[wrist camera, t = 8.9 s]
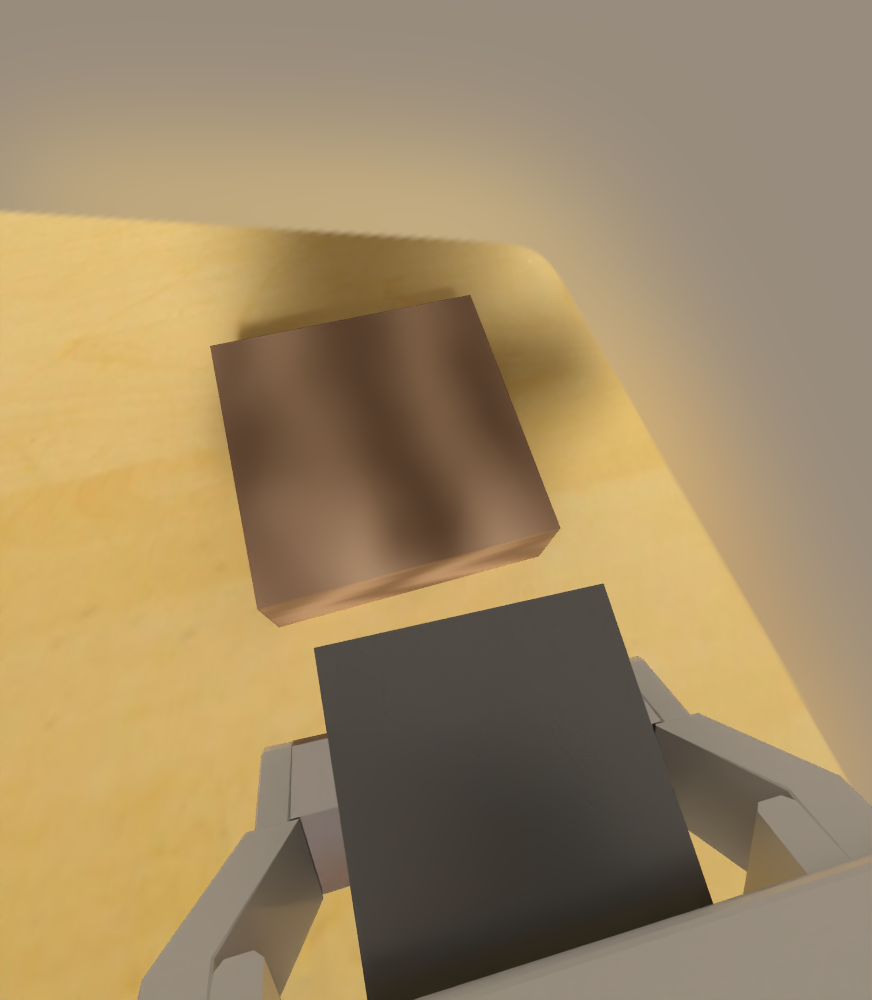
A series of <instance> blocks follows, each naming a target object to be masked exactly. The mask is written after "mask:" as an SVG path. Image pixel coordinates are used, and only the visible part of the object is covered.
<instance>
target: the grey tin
mask: <svg viewBox="0 0 872 1000" xmlns="http://www.w3.org/2000/svg"><path fill="white" fill-rule="evenodd" d="M314 652H315V658H316V665H317V671H318V678H319V684H320V691H321V698H322V704H323V711H324V717H325V724H326V730H327V737H328V744H329V750H330V757H331V763H332V770H333V776H334V783H335V790H336V796H337V803H338V809H339V816H340V823H341V829H342V836H343V842H344V849H345V855H346V862H347V869H348V875H349V882H350V888H351V895H352V901H353V908H354V915H355V921H356V928H357V934H358V941H359V947H360V954H361V961H362V967H363V974H364V980H365V987H366V993H367V1000H414V999H417V998H420V997H423V996H427V995H430V994H433V993H436V992H439V991H442V990H445V989H449V988H452V987H455V986H458V985H461V984H464V983H467V982H470V981H474V980H477V979H480V978H483V977H486V976H489V975H492V974H496V973H499V972H502V971H505V970H508V969H511V968H514V967H517V966H521V965H524V964H527V963H530V962H533V961H536V960H539V959H543V958H546V957H549V956H552V955H555V954H558V953H561V952H564V951H568V950H571V949H574V948H577V947H580V946H583V945H586V944H590V943H593V942H596V941H599V940H602V939H605V938H608V937H611V936H615V935H618V934H621V933H624V932H627V931H630V930H633V929H637V928H640V927H643V926H646V925H649V924H652V923H655V922H658V921H662V920H665V919H668V918H671V917H674V916H677V915H680V914H683V913H687V912H690V911H693V910H696V909H699V908H702V907H705V906H708V905H712V904H713V902H712V899H711V896H710V893H709V890H708V887H707V885H706V882H705V879H704V876H703V873H702V870H701V867H700V864H699V861H698V858H697V855H696V852H695V849H694V847H693V844H692V841H691V838H690V835H689V832H688V829H687V826H686V823H685V820H684V817H683V814H682V812H681V809H680V806H679V803H678V800H677V797H676V794H675V791H674V788H673V785H672V782H671V779H670V777H669V774H668V771H667V768H666V765H665V762H664V759H663V756H662V753H661V750H660V747H659V744H658V741H657V739H656V736H655V733H654V730H653V727H652V724H651V721H650V718H649V715H648V712H647V709H646V706H645V704H644V701H643V698H642V695H641V692H640V689H639V686H638V683H637V680H636V677H635V674H634V671H633V669H632V666H631V663H630V660H629V657H628V654H627V651H626V648H625V645H624V642H623V639H622V636H621V633H620V631H619V628H618V625H617V622H616V619H615V616H614V613H613V610H612V607H611V604H610V601H609V598H608V596H607V593H606V590H605V587H604V584H599V585H594V586H590V587H585V588H581V589H577V590H572V591H568V592H563V593H559V594H554V595H550V596H545V597H541V598H536V599H532V600H527V601H523V602H518V603H514V604H509V605H505V606H500V607H496V608H491V609H487V610H482V611H478V612H473V613H469V614H464V615H460V616H456V617H451V618H447V619H442V620H438V621H433V622H429V623H424V624H420V625H415V626H411V627H406V628H402V629H397V630H393V631H388V632H384V633H379V634H375V635H370V636H366V637H361V638H357V639H352V640H348V641H343V642H339V643H335V644H330V645H326V646H321V647H317V648H314Z"/></svg>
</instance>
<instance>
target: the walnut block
mask: <svg viewBox="0 0 872 1000" xmlns="http://www.w3.org/2000/svg"><path fill="white" fill-rule="evenodd" d="M210 348H211V353H212V359H213V365H214V370H215V376H216V381H217V387H218V392H219V398H220V404H221V409H222V415H223V420H224V426H225V431H226V437H227V442H228V448H229V454H230V459H231V465H232V470H233V476H234V481H235V487H236V493H237V498H238V504H239V509H240V515H241V520H242V526H243V532H244V537H245V543H246V548H247V554H248V559H249V565H250V570H251V576H252V582H253V587H254V593H255V598H256V604H257V609H258V610H259V611H260V612H261V613H262V614H264V615H265V616H266V617H267V618H268V619H270V620H271V621H272V622H273V623H274V624H276V625H277V626H278V627H282V626H285V625H289V624H293V623H296V622H300V621H304V620H307V619H311V618H315V617H318V616H322V615H326V614H329V613H333V612H337V611H340V610H344V609H347V608H351V607H355V606H358V605H362V604H366V603H369V602H373V601H377V600H380V599H384V598H388V597H391V596H395V595H399V594H402V593H406V592H410V591H413V590H417V589H421V588H424V587H428V586H432V585H435V584H439V583H443V582H446V581H450V580H453V579H457V578H461V577H464V576H468V575H472V574H475V573H479V572H483V571H486V570H490V569H494V568H497V567H501V566H505V565H508V564H512V563H516V562H519V561H523V560H527V559H530V558H534V557H538V556H539V555H540V554H541V553H542V551H543V550H544V549H545V547H546V546H547V545H548V543H549V542H550V541H551V540H552V538H553V537H554V536H555V534H556V533H557V532H558V531H559V529H560V526H559V523H558V521H557V518H556V516H555V513H554V510H553V508H552V505H551V503H550V500H549V497H548V495H547V492H546V490H545V487H544V485H543V482H542V479H541V477H540V474H539V472H538V469H537V466H536V464H535V461H534V459H533V456H532V454H531V451H530V448H529V446H528V443H527V441H526V438H525V435H524V433H523V430H522V428H521V425H520V423H519V420H518V417H517V415H516V412H515V410H514V407H513V404H512V402H511V399H510V397H509V394H508V391H507V389H506V386H505V384H504V381H503V379H502V376H501V373H500V371H499V368H498V366H497V363H496V360H495V358H494V355H493V353H492V350H491V348H490V345H489V342H488V340H487V337H486V335H485V332H484V329H483V327H482V324H481V322H480V319H479V317H478V314H477V311H476V309H475V306H474V304H473V301H472V298H471V296H470V295H467V296H462V297H457V298H452V299H447V300H442V301H437V302H432V303H427V304H421V305H416V306H411V307H406V308H401V309H396V310H391V311H386V312H381V313H376V314H371V315H366V316H360V317H355V318H350V319H345V320H340V321H335V322H330V323H325V324H320V325H315V326H310V327H305V328H299V329H294V330H289V331H284V332H279V333H274V334H269V335H264V336H259V337H254V338H249V339H244V340H238V341H233V342H228V343H223V344H218V345H213V346H210Z"/></svg>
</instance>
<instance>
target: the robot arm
mask: <svg viewBox="0 0 872 1000" xmlns="http://www.w3.org/2000/svg"><path fill="white" fill-rule="evenodd" d="M629 660H630V663H631V666H632V669H633V671H634V674H635V677H636V680H637V683H638V686H639V689H640V692H641V695H642V698H643V701H644V704H645V706H646V709H647V712H648V715H649V718H650V721H651V724H652V727H653V730H654V733H655V736H656V739H657V741H658V744H659V747H660V750H661V753H662V756H663V759H664V762H665V765H666V768H667V771H668V774H669V777H670V779H671V782H672V785H673V788H674V791H675V794H676V797H677V800H678V803H679V806H680V809H681V812H682V814H683V817H684V820H685V823H686V826H687V829H688V830H689V831H690V832H692V833H693V834H695V835H696V836H698V837H699V838H700V839H702V840H703V841H705V842H706V843H707V844H709V845H710V846H712V847H713V848H714V849H716V850H717V851H719V852H720V853H721V854H723V855H724V856H726V857H727V858H728V859H730V860H731V861H733V862H734V863H736V864H737V865H738V866H740V867H741V868H743V869H744V870H745V871H747V875H746V881H745V887H744V893H743V895H740V896H737V897H734V898H730V899H727V900H724V901H721V902H718V903H715V904H712V905H708V906H705V907H702V908H699V909H696V910H693V911H690V912H687V913H683V914H680V915H677V916H674V917H671V918H668V919H665V920H662V921H658V922H655V923H652V924H649V925H646V926H643V927H640V928H637V929H633V930H630V931H627V932H624V933H621V934H618V935H615V936H611V937H608V938H605V939H602V940H599V941H596V942H593V943H590V944H586V945H583V946H580V947H577V948H574V949H571V950H568V951H564V952H561V953H558V954H555V955H552V956H549V957H546V958H543V959H539V960H536V961H533V962H530V963H527V964H524V965H521V966H517V967H514V968H511V969H508V970H505V971H502V972H499V973H496V974H492V975H489V976H486V977H483V978H480V979H477V980H474V981H470V982H467V983H464V984H461V985H458V986H455V987H452V988H449V989H445V990H442V991H439V992H436V993H433V994H430V995H427V996H423V997H420V998H417V999H414V1000H872V806H871V805H870V804H869V803H868V802H867V801H866V800H865V799H864V798H863V797H862V796H861V795H860V794H858V793H857V792H856V791H855V790H854V789H853V788H852V787H851V786H850V785H849V784H848V783H847V782H846V781H845V780H844V779H843V778H842V777H841V776H839V775H837V774H835V773H832V772H830V771H828V770H826V769H823V768H821V767H819V766H817V765H814V764H812V763H810V762H808V761H805V760H803V759H801V758H798V757H796V756H794V755H792V754H789V753H787V752H785V751H783V750H780V749H778V748H776V747H774V746H771V745H769V744H767V743H765V742H762V741H760V740H758V739H756V738H753V737H751V736H749V735H747V734H744V733H742V732H740V731H738V730H735V729H733V728H731V727H729V726H726V725H724V724H722V723H719V722H717V721H715V720H713V719H710V718H708V717H706V716H704V715H701V714H699V713H697V714H692V715H691V714H690V713H689V712H688V711H687V710H686V709H685V708H684V706H683V705H682V704H681V703H680V702H679V701H678V699H677V698H676V697H675V696H674V695H673V694H672V692H671V691H670V690H669V689H668V688H667V687H666V685H665V684H664V683H663V682H662V681H661V680H660V678H659V677H658V676H657V675H656V674H655V673H654V672H653V670H652V669H651V668H650V667H649V666H648V665H647V663H646V662H645V661H644V660H643V659H642V658H640V657H638V656H637V657H633V658H629ZM348 886H350V882H349V875H348V869H347V862H346V855H345V849H344V842H343V836H342V829H341V823H340V816H339V809H338V803H337V796H336V790H335V783H334V776H333V770H332V763H331V757H330V750H329V744H328V737H327V733H326V734H321V735H317V736H312V737H308V738H303V739H299V740H294V741H293V742H289V743H284V744H279V745H274V746H270V747H265V748H264V750H263V752H262V755H261V764H260V775H259V787H258V798H257V809H256V820H255V830H254V831H250V832H247V833H245V834H244V836H243V837H242V839H241V840H240V842H239V843H238V844H237V846H236V847H235V849H234V850H233V852H232V853H231V854H230V856H229V857H228V859H227V860H226V861H225V863H224V864H223V866H222V867H221V869H220V870H219V871H218V873H217V874H216V876H215V877H214V878H213V880H212V881H211V883H210V884H209V886H208V887H207V888H206V890H205V891H204V893H203V894H202V896H201V897H200V898H199V900H198V901H197V903H196V904H195V905H194V907H193V908H192V910H191V911H190V913H189V914H188V915H187V917H186V918H185V920H184V921H183V922H182V924H181V925H180V927H179V928H178V930H177V931H176V932H175V934H174V935H173V937H172V938H171V940H170V941H169V942H168V944H167V945H166V947H165V948H164V949H163V951H162V952H161V954H160V955H159V957H158V958H157V959H156V961H155V962H154V964H153V965H152V966H151V968H150V969H149V971H148V972H147V974H146V975H145V976H144V978H143V979H142V982H141V987H140V991H139V995H138V1000H281V999H280V996H281V994H282V992H283V989H284V987H285V985H286V982H287V980H288V978H289V975H290V973H291V971H292V969H293V966H294V964H295V962H296V959H297V957H298V955H299V953H300V950H301V948H302V946H303V943H304V941H305V939H306V937H307V934H308V932H309V930H310V927H311V925H312V923H313V921H314V918H315V916H316V914H317V911H318V909H319V907H320V904H321V902H322V900H323V894H326V893H329V892H332V891H335V890H339V889H342V888H345V887H348Z"/></svg>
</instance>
